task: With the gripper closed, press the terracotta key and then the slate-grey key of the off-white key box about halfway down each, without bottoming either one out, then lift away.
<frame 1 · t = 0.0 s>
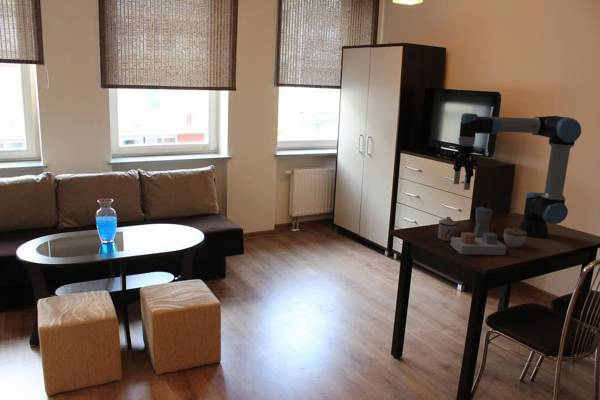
hand: (461, 186, 266), 28 cm above the table, tool pointing down, fingers open, 13 cm apart
lidded jar: (513, 246, 266), on the table
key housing: (477, 249, 257), on the table
grey key: (489, 238, 256), point 6 cm above the table, slide at 0.0 cm
teacup with lid: (448, 238, 274), on the table
terracotta key: (467, 238, 255), point 6 cm above the table, slide at 0.0 cm
coffee maker: (479, 235, 283), on the table
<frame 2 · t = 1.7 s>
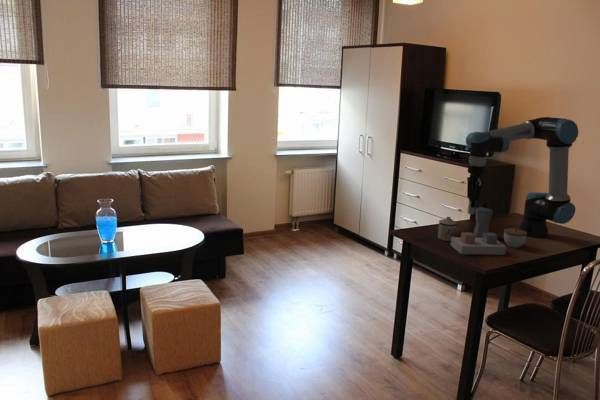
hand: (470, 213, 253), 18 cm above the table, tool pointing down, fingers closed
nothing on the table moved.
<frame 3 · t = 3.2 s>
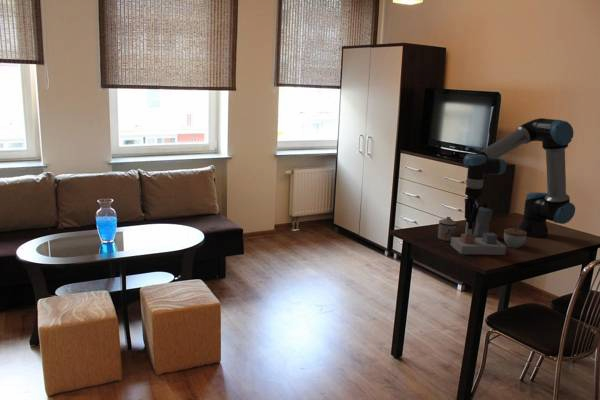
hand: (468, 234, 255), 8 cm above the table, tool pointing down, fingers closed
terracotta key: (467, 239, 256), point 5 cm above the table, slide at 0.7 cm, touching gripper
everything else where it was.
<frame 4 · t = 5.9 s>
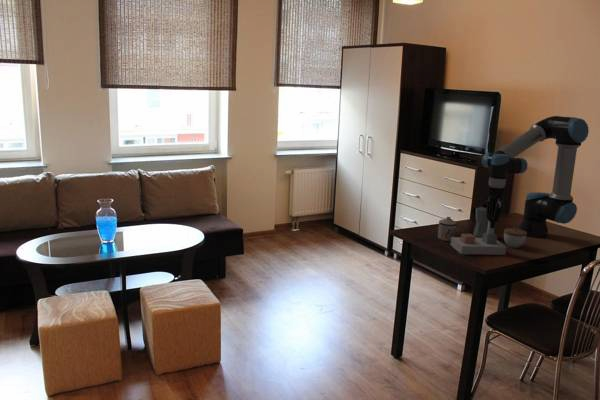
hand: (490, 233, 256), 8 cm above the table, tool pointing down, fingers closed
grey key: (489, 238, 256), point 6 cm above the table, slide at 0.1 cm, touching gripper
terracotta key: (467, 239, 256), point 5 cm above the table, slide at 0.7 cm
everything else where it was.
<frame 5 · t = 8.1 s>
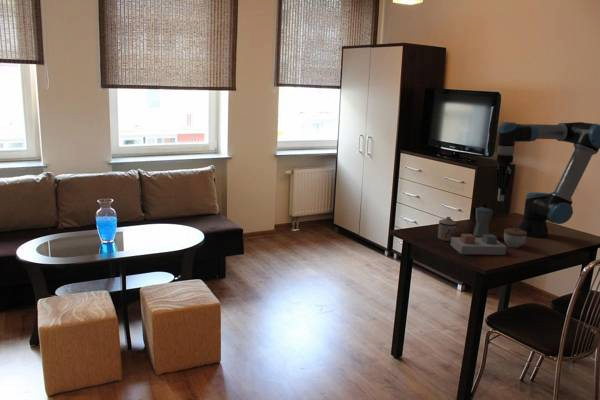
hand: (500, 200, 264), 22 cm above the table, tool pointing down, fingers closed
grey key: (489, 240, 257), point 5 cm above the table, slide at 0.8 cm
everything else where it was.
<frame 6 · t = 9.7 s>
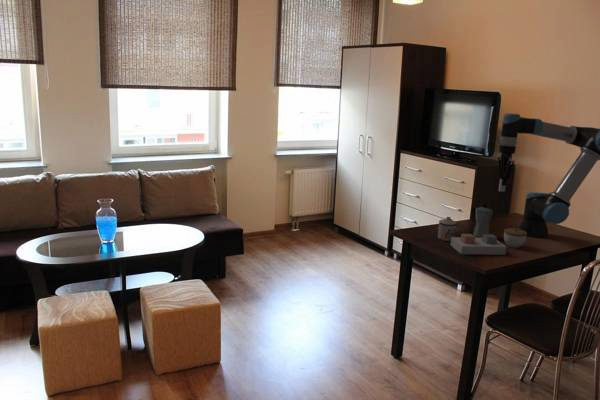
hand: (501, 191, 267), 26 cm above the table, tool pointing down, fingers closed
nothing on the table moved.
at the end: terracotta key slide at 0.7 cm; grey key slide at 0.8 cm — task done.
